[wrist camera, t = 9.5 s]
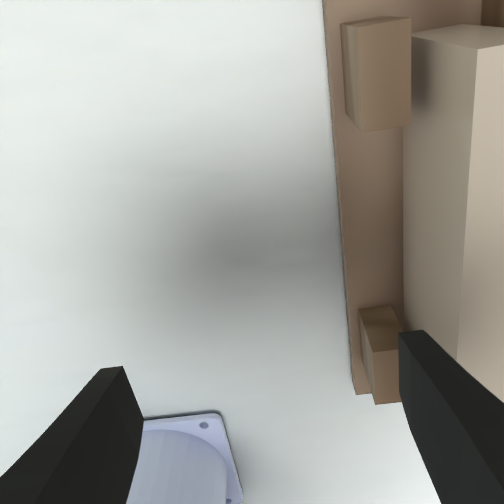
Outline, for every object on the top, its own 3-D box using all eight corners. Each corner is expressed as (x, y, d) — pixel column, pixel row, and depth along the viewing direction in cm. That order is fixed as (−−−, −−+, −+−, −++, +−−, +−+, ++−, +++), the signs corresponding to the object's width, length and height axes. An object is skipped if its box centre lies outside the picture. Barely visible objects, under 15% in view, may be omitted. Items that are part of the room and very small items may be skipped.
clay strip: (403, 347, 22) (449, 455, 17) (402, 34, 15) (477, 49, 10) (445, 342, 22) (505, 449, 17) (462, 23, 15) (569, 33, 10)
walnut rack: (352, 380, 24) (368, 443, 21) (317, -58, 15) (336, -77, 12) (485, 365, 24) (524, 427, 20) (535, -102, 14) (625, -136, 11)
